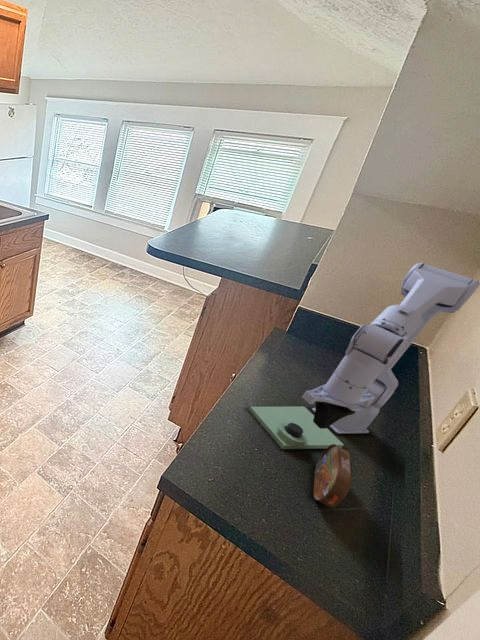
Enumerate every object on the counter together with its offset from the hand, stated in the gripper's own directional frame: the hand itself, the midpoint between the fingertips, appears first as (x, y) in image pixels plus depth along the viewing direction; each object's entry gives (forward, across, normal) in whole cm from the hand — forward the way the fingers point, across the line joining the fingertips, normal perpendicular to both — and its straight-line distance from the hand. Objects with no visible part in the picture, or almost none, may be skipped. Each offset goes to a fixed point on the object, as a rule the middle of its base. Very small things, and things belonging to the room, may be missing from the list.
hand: (319, 424), depth 84 cm
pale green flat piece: (+10, +5, +8) cm, 14 cm away
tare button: (+8, +1, +4) cm, 9 cm away
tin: (+10, -1, -8) cm, 13 cm away
